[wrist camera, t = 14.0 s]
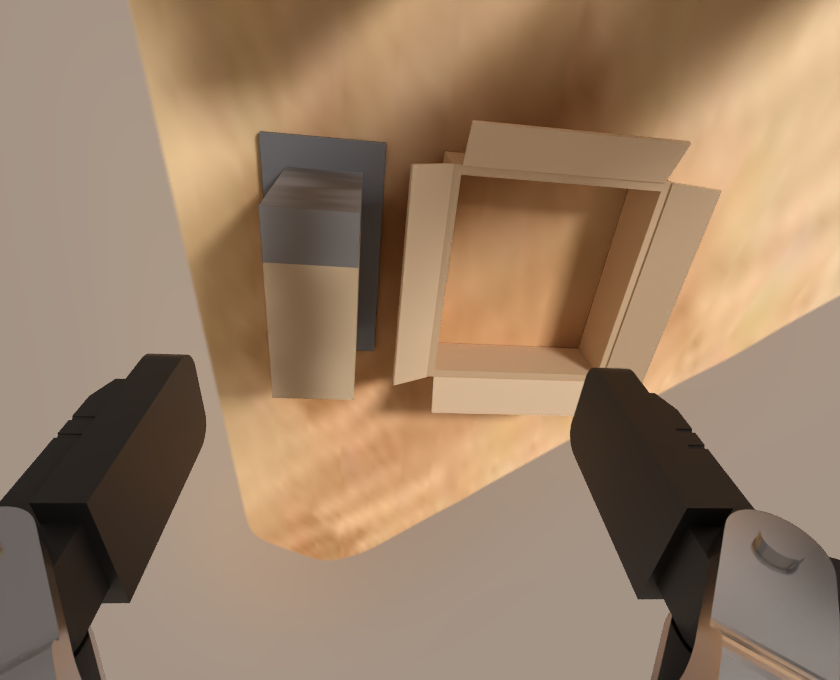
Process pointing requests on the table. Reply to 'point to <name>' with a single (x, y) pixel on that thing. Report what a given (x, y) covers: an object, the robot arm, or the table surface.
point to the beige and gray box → (312, 281)
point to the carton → (617, 290)
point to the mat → (370, 162)
